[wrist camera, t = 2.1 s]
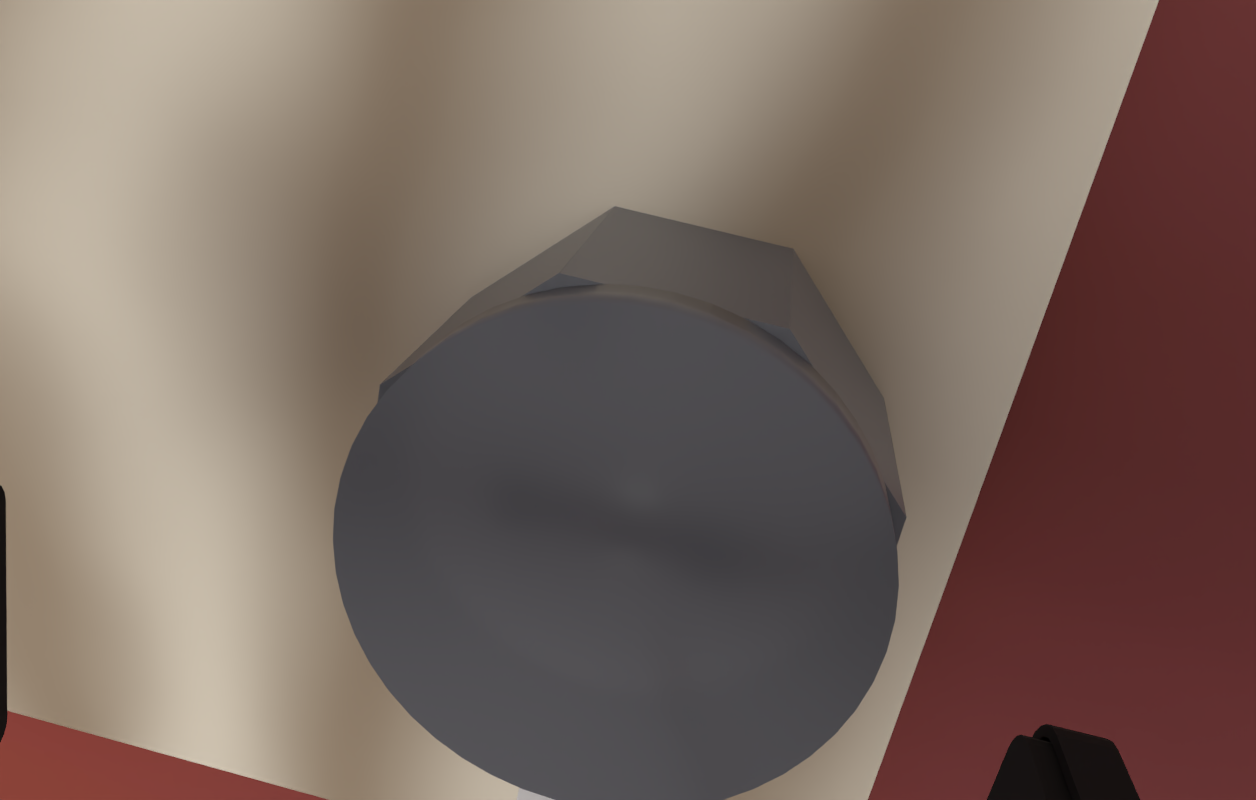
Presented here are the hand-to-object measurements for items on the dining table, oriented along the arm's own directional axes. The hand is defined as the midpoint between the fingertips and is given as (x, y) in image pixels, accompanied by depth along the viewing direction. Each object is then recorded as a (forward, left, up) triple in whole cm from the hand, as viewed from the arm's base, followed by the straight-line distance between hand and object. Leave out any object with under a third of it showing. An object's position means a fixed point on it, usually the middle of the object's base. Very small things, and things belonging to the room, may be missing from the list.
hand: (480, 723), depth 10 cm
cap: (-1, 0, -8) cm, 8 cm away
